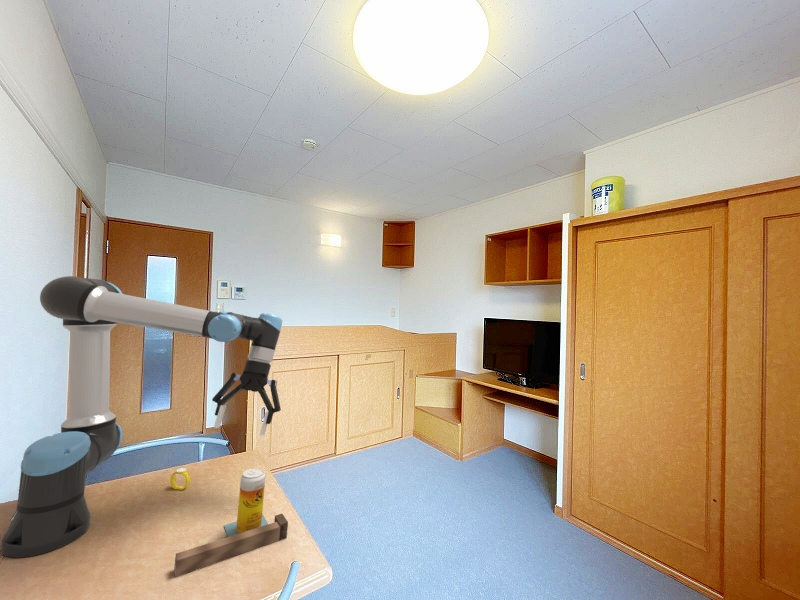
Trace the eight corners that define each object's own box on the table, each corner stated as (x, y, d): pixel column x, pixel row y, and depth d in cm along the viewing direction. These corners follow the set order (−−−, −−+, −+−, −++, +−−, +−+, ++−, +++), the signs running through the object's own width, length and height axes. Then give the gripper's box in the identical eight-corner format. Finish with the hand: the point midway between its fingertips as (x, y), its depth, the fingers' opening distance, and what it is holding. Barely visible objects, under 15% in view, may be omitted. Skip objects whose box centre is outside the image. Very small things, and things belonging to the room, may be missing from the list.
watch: (190, 488, 109) (193, 469, 109) (183, 492, 106) (187, 473, 106) (173, 484, 110) (176, 466, 110) (166, 488, 107) (170, 470, 107)
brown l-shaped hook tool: (175, 577, 73) (176, 558, 73) (173, 564, 77) (175, 546, 77) (286, 537, 88) (288, 522, 88) (281, 528, 92) (282, 513, 92)
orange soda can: (248, 540, 86) (254, 480, 86) (230, 533, 88) (236, 474, 89) (265, 526, 91) (270, 470, 92) (248, 520, 94) (253, 465, 94)
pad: (231, 545, 84) (231, 544, 84) (223, 526, 91) (224, 525, 91) (271, 532, 90) (272, 530, 90) (262, 514, 97) (262, 513, 97)
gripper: (300, 369, 112) (283, 436, 106) (224, 356, 111) (203, 423, 105) (295, 367, 105) (277, 439, 99) (215, 353, 104) (191, 425, 97)
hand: (239, 431), depth 102 cm, fingers open, 13 cm apart
